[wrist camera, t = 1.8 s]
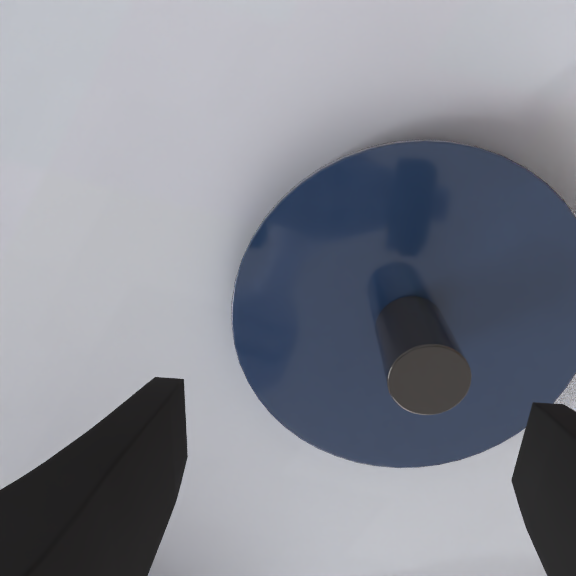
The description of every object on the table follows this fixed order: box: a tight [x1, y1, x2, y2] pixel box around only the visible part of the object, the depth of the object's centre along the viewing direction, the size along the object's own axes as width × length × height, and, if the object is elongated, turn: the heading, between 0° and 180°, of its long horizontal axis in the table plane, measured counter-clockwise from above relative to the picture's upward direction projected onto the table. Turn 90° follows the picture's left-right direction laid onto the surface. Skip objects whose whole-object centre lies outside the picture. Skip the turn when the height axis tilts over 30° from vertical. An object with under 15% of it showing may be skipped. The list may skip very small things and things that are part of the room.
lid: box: [232, 139, 576, 468], centre depth 17 cm, size 13×13×5 cm
